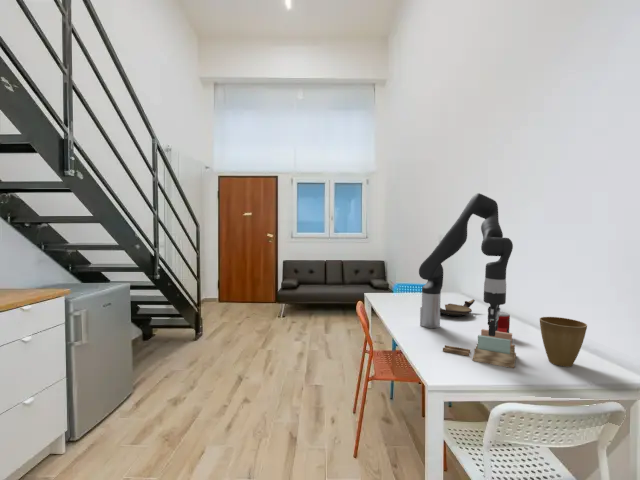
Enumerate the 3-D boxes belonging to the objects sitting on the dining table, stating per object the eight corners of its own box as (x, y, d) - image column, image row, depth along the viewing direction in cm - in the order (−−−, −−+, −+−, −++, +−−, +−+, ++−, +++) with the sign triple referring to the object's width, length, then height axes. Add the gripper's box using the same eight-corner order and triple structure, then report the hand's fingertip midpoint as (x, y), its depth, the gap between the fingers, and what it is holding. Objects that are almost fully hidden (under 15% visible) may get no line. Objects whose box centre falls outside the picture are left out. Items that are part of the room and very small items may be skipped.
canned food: (511, 339, 165) (512, 315, 165) (492, 338, 167) (493, 314, 166) (506, 334, 172) (506, 311, 172) (488, 333, 174) (488, 310, 174)
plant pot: (568, 373, 126) (570, 328, 126) (529, 359, 140) (530, 318, 140) (594, 367, 132) (596, 324, 132) (554, 354, 146) (555, 314, 145)
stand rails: (442, 351, 148) (442, 347, 148) (444, 348, 152) (445, 345, 151) (468, 356, 143) (468, 352, 143) (470, 352, 146) (470, 349, 146)
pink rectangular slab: (480, 349, 147) (481, 330, 147) (481, 348, 148) (481, 329, 148) (511, 354, 141) (511, 334, 141) (511, 353, 143) (512, 333, 142)
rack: (472, 360, 138) (472, 349, 138) (478, 349, 151) (478, 338, 151) (513, 368, 131) (514, 356, 131) (516, 355, 144) (516, 344, 143)
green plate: (477, 356, 139) (477, 336, 138) (477, 355, 140) (478, 334, 140) (509, 362, 133) (510, 341, 133) (509, 360, 135) (510, 339, 134)
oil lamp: (423, 310, 221) (423, 298, 221) (470, 310, 224) (470, 297, 223) (438, 319, 199) (438, 306, 198) (490, 319, 201) (490, 305, 201)
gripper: (486, 286, 144) (484, 326, 144) (481, 292, 131) (479, 336, 132) (507, 288, 140) (505, 330, 140) (504, 294, 128) (502, 339, 128)
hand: (493, 332), depth 136 cm, fingers open, 8 cm apart
